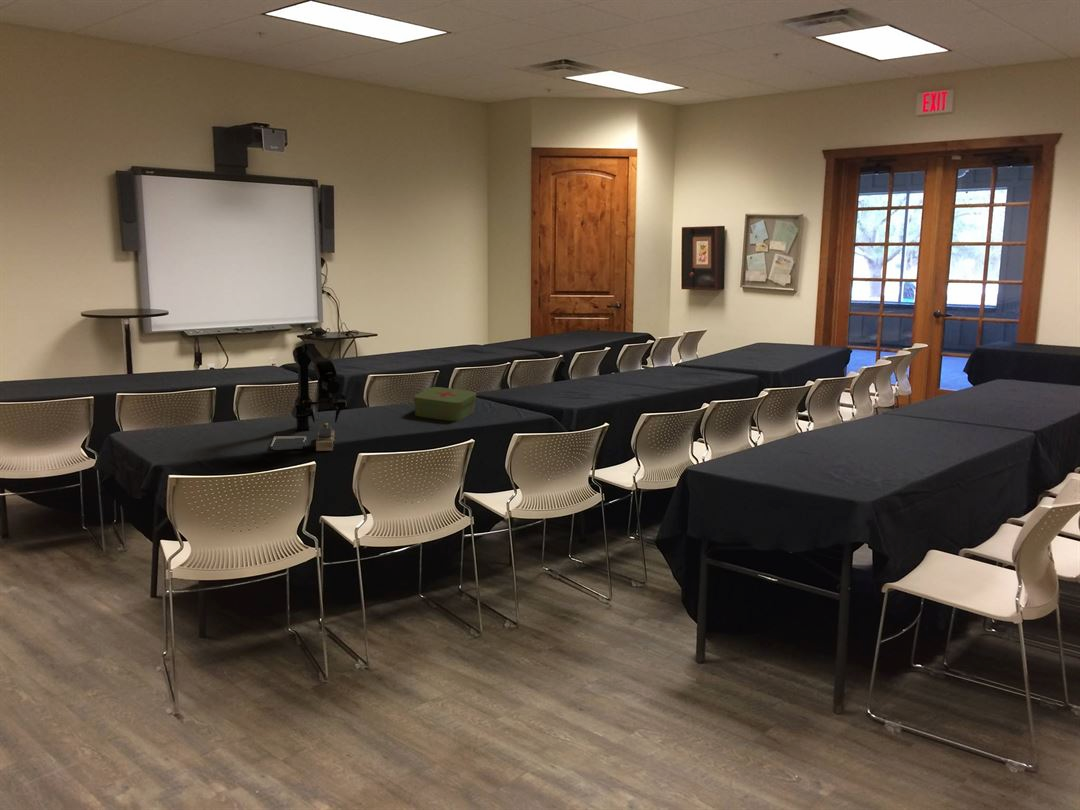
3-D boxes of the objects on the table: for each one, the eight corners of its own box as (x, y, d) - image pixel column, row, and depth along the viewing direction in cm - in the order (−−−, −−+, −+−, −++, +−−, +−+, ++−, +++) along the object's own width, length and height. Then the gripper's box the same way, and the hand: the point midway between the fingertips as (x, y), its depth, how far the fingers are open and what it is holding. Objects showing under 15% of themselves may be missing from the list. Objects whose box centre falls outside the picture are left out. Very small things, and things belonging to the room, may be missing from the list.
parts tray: (274, 439, 398) (274, 436, 398) (306, 439, 401) (306, 436, 400) (270, 450, 383) (270, 447, 383) (303, 450, 385) (303, 446, 385)
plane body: (318, 438, 403) (318, 430, 402) (334, 438, 404) (334, 430, 403) (316, 450, 386) (315, 441, 384) (332, 450, 387) (332, 441, 386)
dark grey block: (320, 433, 397) (320, 422, 395) (331, 433, 397) (331, 422, 396) (319, 438, 390) (318, 426, 389) (330, 438, 391) (330, 426, 389)
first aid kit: (410, 416, 447) (410, 397, 445) (432, 404, 471) (433, 386, 469) (458, 422, 439) (458, 403, 437) (478, 410, 463) (478, 391, 461)
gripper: (301, 393, 379) (301, 427, 383) (345, 393, 382) (345, 427, 386) (303, 386, 389) (304, 420, 393) (346, 387, 393) (346, 420, 397)
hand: (325, 422), depth 392 cm, fingers open, 9 cm apart
